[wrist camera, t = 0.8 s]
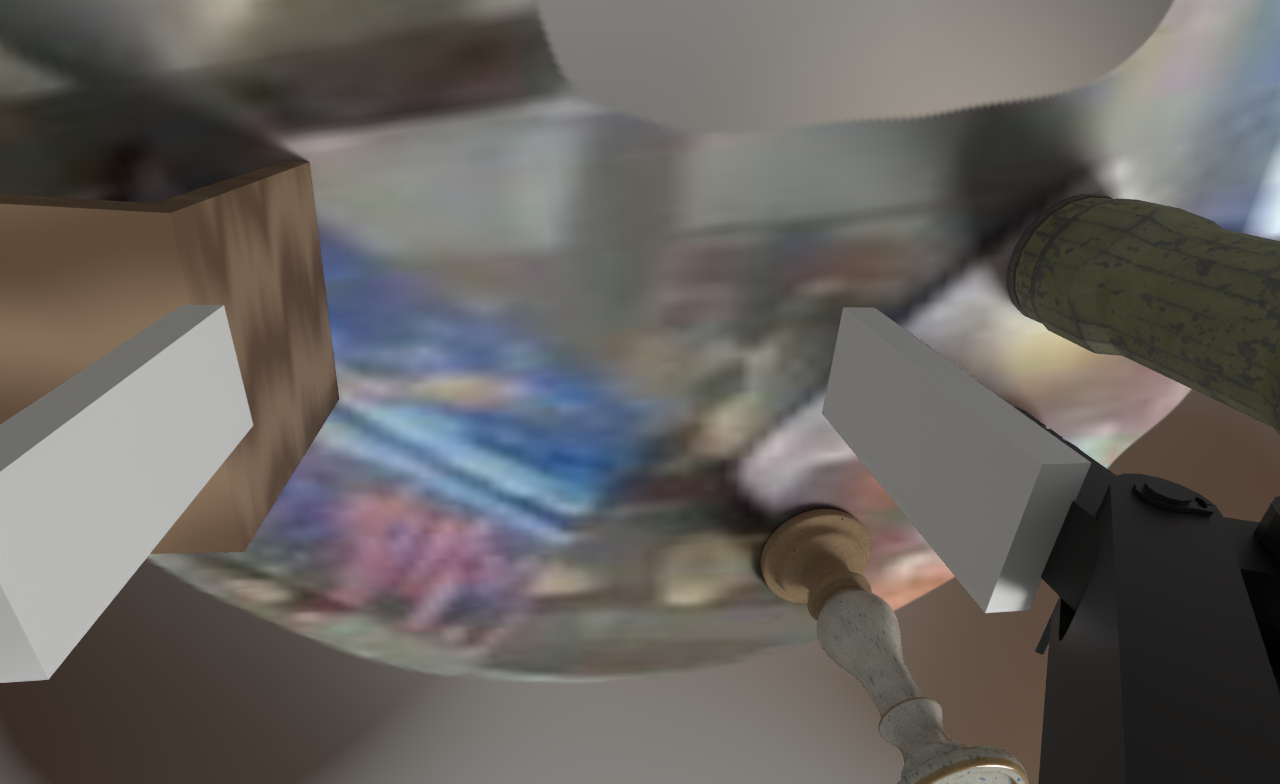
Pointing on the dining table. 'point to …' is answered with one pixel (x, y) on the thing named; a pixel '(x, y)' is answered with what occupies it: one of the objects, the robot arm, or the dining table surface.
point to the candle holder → (872, 646)
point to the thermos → (1158, 294)
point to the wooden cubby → (160, 283)
